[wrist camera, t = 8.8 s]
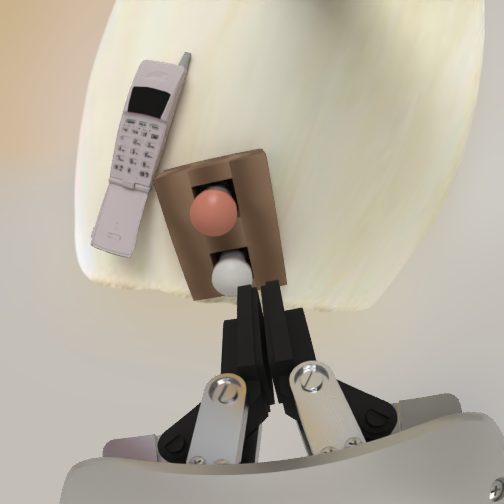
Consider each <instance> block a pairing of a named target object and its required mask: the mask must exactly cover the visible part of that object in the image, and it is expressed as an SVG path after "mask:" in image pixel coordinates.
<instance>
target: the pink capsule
mask: <svg viewBox="0 0 504 504" xmlns="http://www.w3.org/2000/svg"><path fill="white" fill-rule="evenodd" d="M236 219H237V206H236V203H235V201H234V199H233V198H232V190H231V187H230V186H229V185H228V184H227V183H226V182H224V181H216V182H212V183H209V184H208V185H207V187H206V189H205V191H203V192H201V193H200V194H198V195H197V197H196V198H195V199H194V201H193V203H192V205H191V208H190V220H191V222H192V224H193V226H194V227H195V228H196V230H198V231H199V232H200V233H202V234H204V235H207V236H221V235H223V234H225V233H227V232H229V231H230V230H231V229H232V228H233V226H234V224H235V222H236Z"/></svg>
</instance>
